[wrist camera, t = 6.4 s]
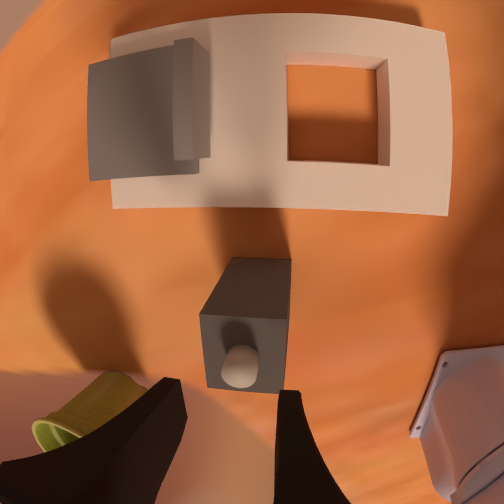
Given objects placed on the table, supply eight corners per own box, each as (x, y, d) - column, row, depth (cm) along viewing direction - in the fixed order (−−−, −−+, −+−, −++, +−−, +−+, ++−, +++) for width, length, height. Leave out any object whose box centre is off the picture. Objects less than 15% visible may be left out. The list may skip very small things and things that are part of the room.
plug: (289, 319, 20) (281, 412, 12) (234, 316, 20) (200, 404, 13) (291, 259, 19) (285, 336, 11) (232, 257, 19) (190, 329, 12)
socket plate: (430, 207, 17) (447, 216, 14) (133, 201, 19) (113, 208, 17) (428, 44, 13) (444, 32, 11) (131, 48, 16) (111, 38, 14)
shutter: (215, 172, 15) (194, 179, 12) (97, 179, 16) (60, 188, 13) (214, 44, 13) (193, 21, 10) (96, 67, 14) (60, 56, 11)
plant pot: (109, 425, 27) (72, 485, 19) (68, 353, 24) (12, 410, 16) (189, 434, 25) (160, 510, 17) (152, 354, 23) (99, 434, 14)
